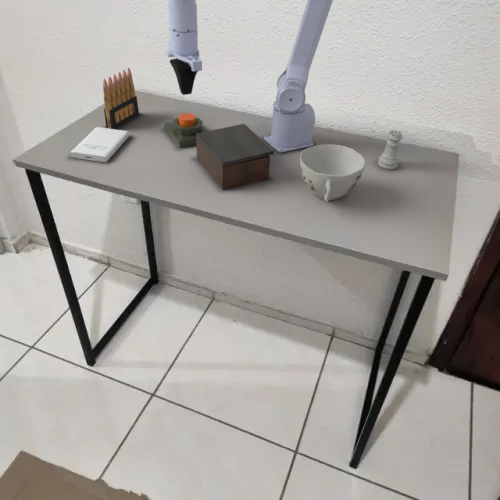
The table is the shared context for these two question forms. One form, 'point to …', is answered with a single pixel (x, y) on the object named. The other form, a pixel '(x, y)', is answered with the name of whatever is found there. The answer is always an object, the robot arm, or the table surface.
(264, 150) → the lid
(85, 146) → the hard drive
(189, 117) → the button
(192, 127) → the control block
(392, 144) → the rook chess piece
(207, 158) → the wooden lidded box
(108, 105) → the ammunition clip
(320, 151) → the teacup
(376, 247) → the table surface
